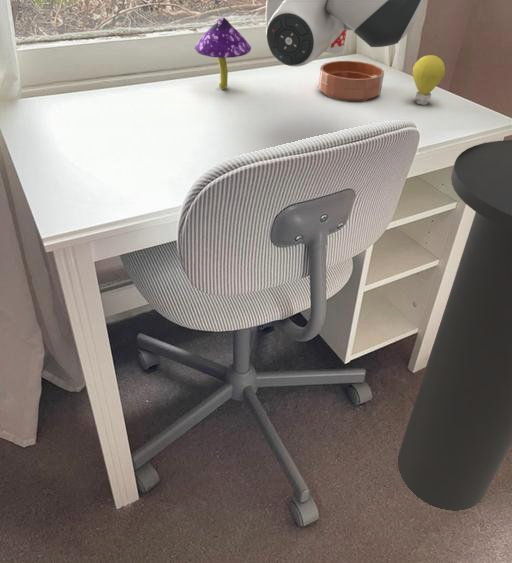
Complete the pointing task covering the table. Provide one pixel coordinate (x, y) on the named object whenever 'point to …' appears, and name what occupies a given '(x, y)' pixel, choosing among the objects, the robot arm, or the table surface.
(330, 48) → the beverage cup
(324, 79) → the bowl
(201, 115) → the table surface
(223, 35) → the decorative mushroom
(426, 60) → the light bulb
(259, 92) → the table surface
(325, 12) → the robot arm
